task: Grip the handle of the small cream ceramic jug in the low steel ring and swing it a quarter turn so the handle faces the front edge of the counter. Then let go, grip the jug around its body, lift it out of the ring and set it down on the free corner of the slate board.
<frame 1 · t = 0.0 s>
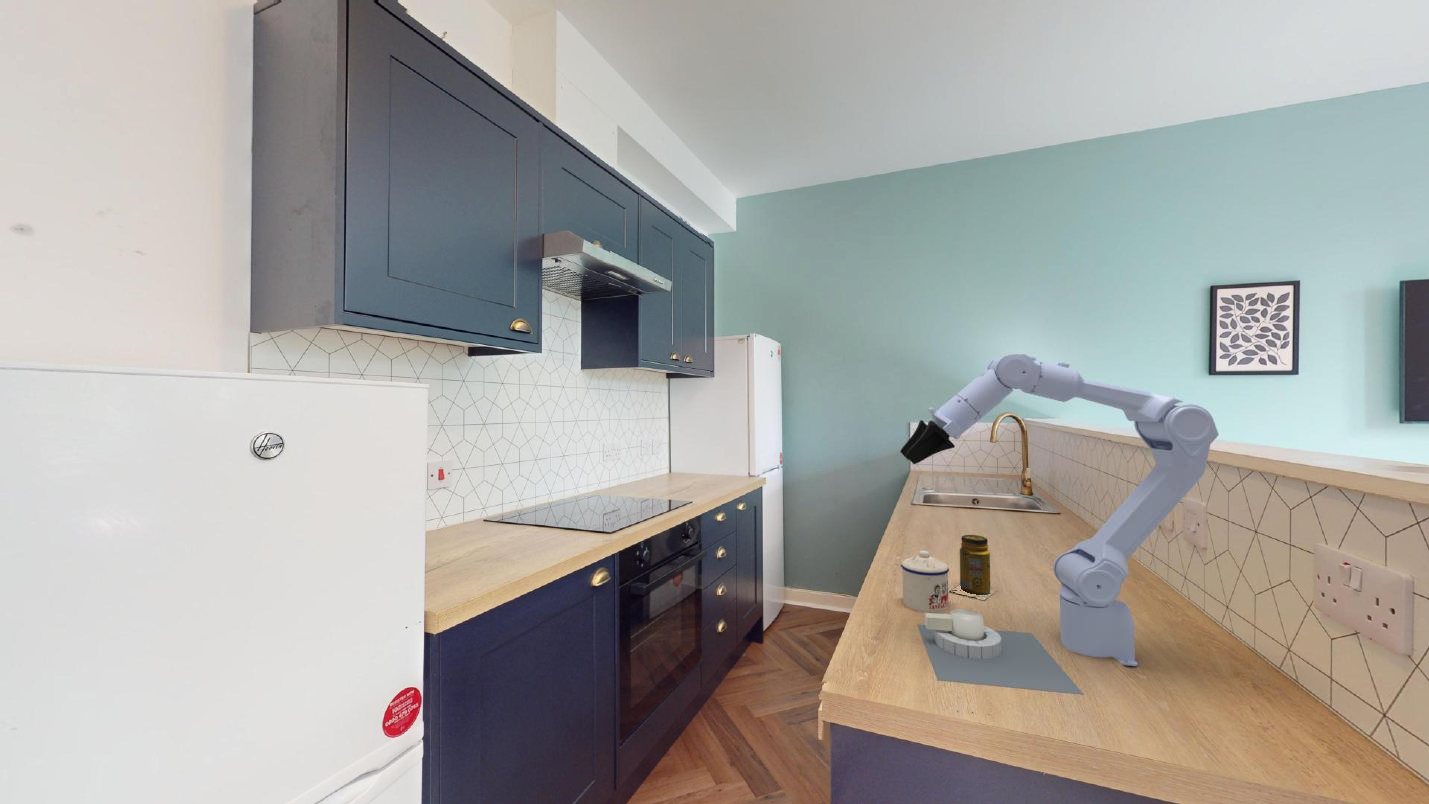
hand: (906, 457, 92), 32 cm above the countertop, tool tilted 50°, fingers open, 7 cm apart
stand: (988, 660, 84), on the countertop
jug: (967, 644, 87), point 1 cm above the countertop, touching stand
condiment: (973, 592, 114), on the countertop
teacup with lid: (928, 607, 106), on the countertop
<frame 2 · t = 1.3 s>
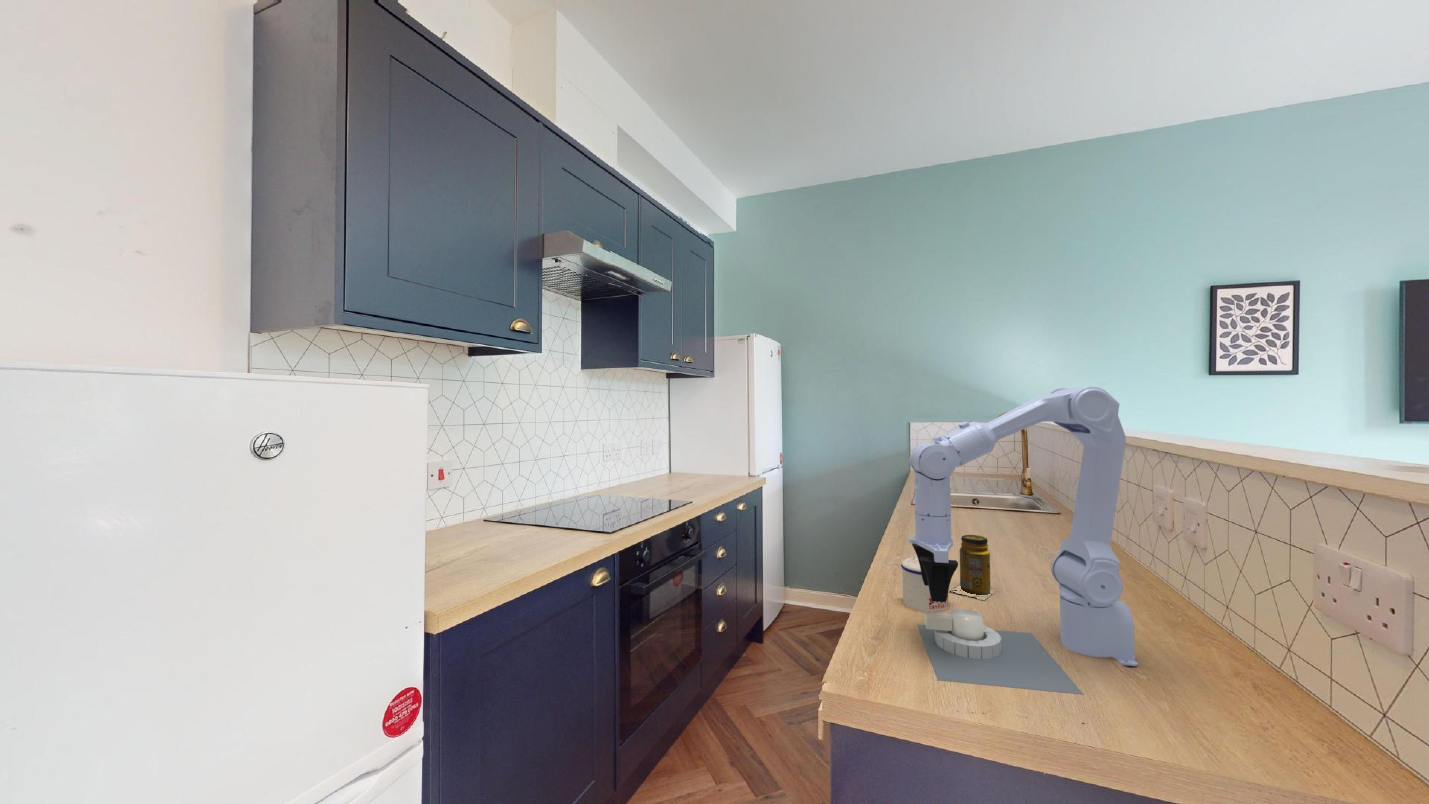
hand: (934, 592, 88), 9 cm above the countertop, tool pointing down, fingers open, 7 cm apart
nothing on the countertop moved.
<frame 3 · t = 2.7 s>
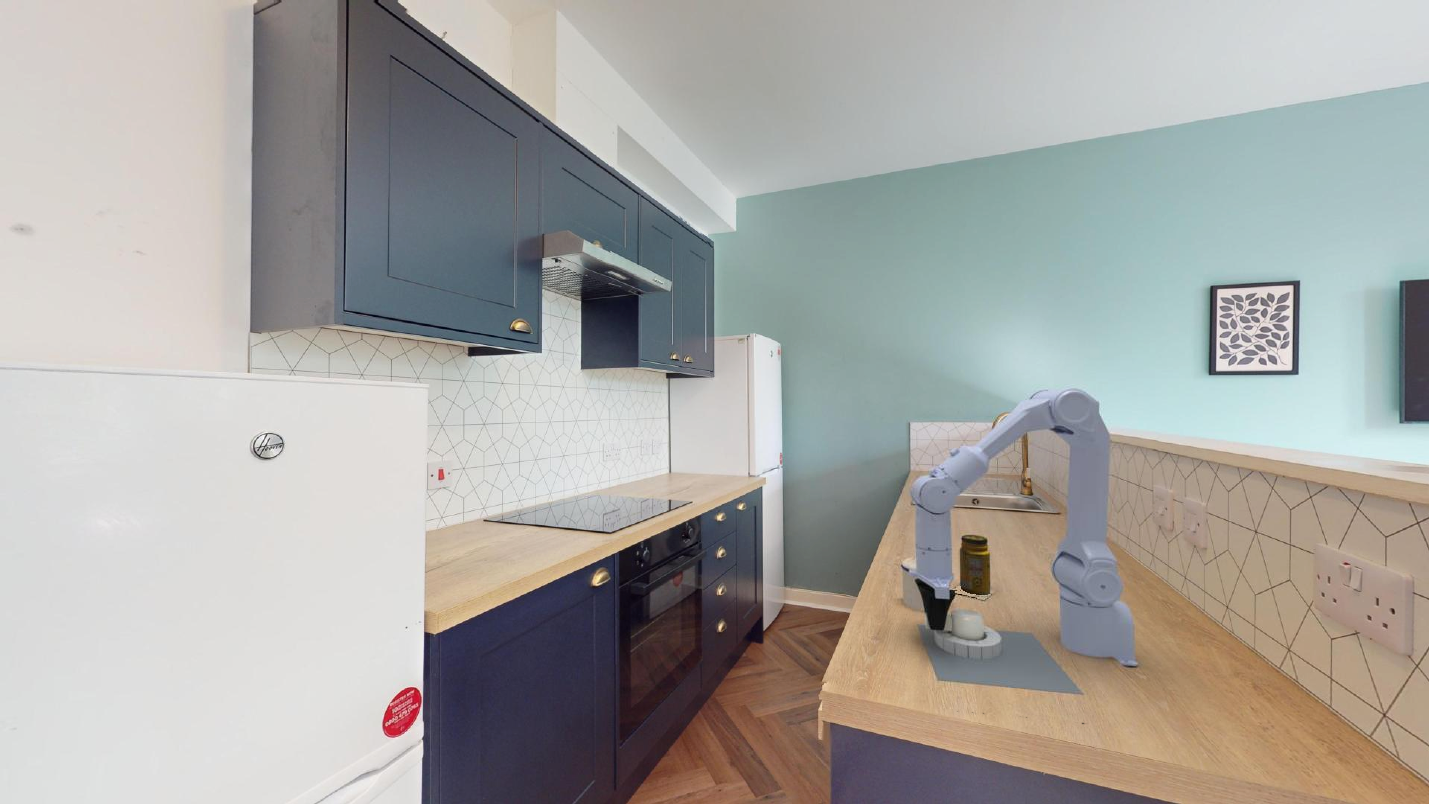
hand: (935, 626, 88), 4 cm above the countertop, tool pointing down, fingers closed on jug, 2 cm apart
jug: (967, 644, 87), point 1 cm above the countertop, touching gripper, stand
everything else where it was.
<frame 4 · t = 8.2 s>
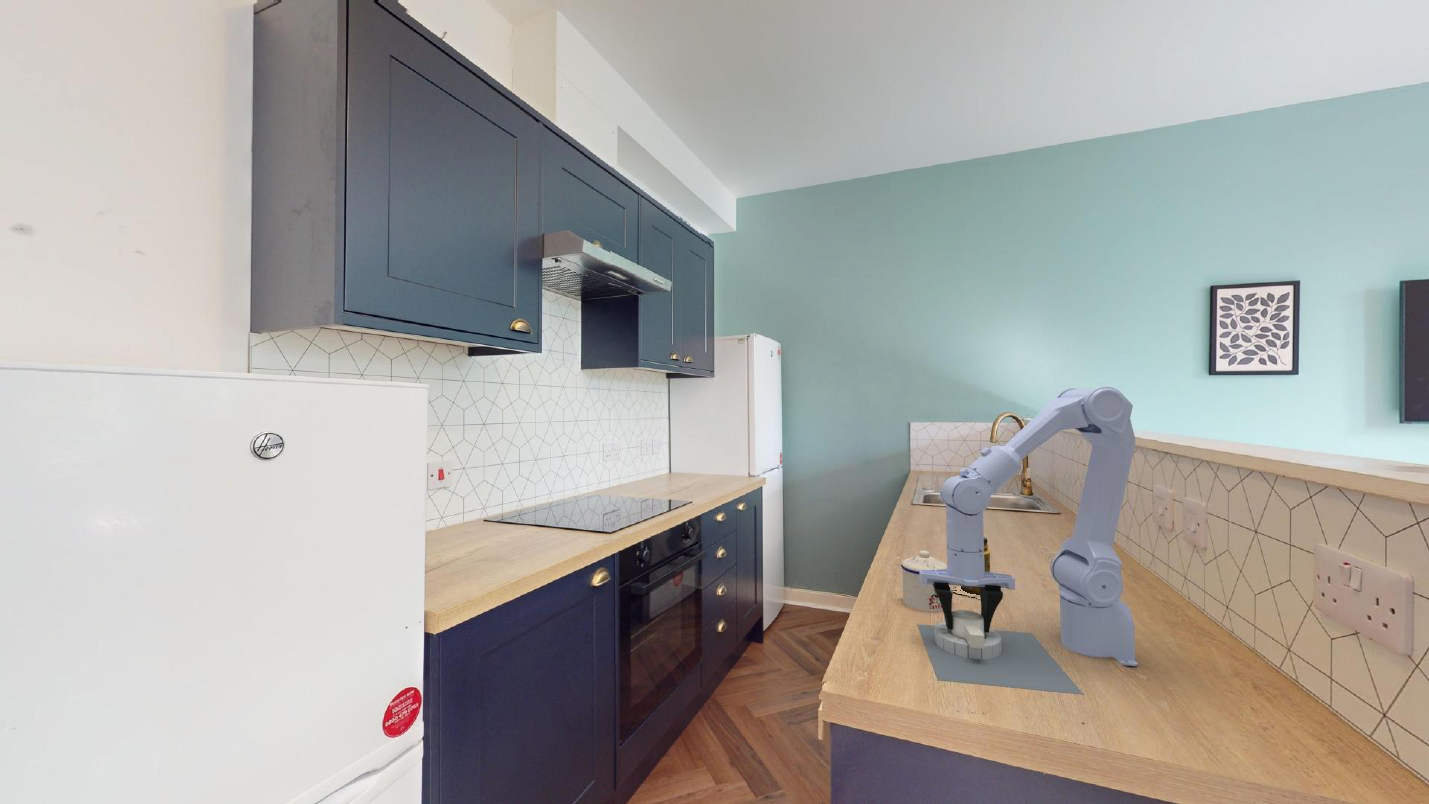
hand: (966, 628, 87), 4 cm above the countertop, tool pointing down, fingers closed on jug, 5 cm apart
jug: (967, 645, 87), point 1 cm above the countertop, touching gripper, stand
everything else where it was.
when the fingers open (5 cm above the countertop, at t = 11.8 s): jug stays where it is, resting on stand.
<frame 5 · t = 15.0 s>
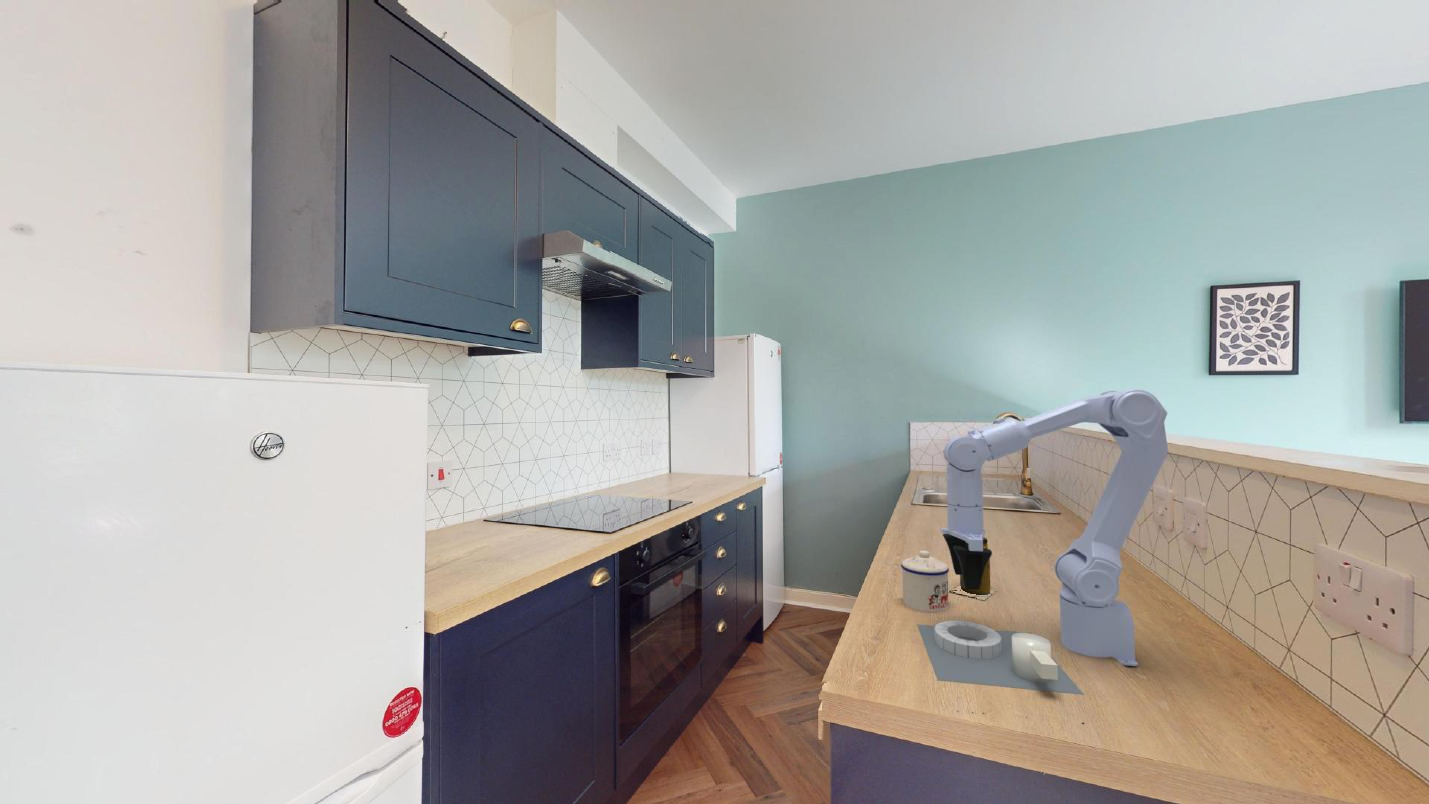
hand: (966, 581, 91), 10 cm above the countertop, tool pointing down, fingers open, 7 cm apart
jug: (1031, 673, 77), point 1 cm above the countertop, touching stand
everything else where it was.
at the end: jug 0.2 cm from the target spot, point 1.0 cm above the countertop; jug tilted 0°; the gripper is holding nothing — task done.
